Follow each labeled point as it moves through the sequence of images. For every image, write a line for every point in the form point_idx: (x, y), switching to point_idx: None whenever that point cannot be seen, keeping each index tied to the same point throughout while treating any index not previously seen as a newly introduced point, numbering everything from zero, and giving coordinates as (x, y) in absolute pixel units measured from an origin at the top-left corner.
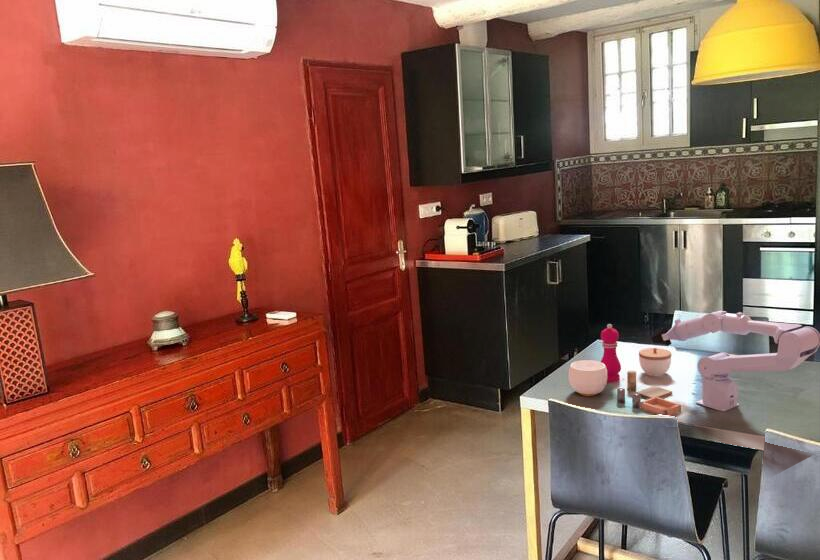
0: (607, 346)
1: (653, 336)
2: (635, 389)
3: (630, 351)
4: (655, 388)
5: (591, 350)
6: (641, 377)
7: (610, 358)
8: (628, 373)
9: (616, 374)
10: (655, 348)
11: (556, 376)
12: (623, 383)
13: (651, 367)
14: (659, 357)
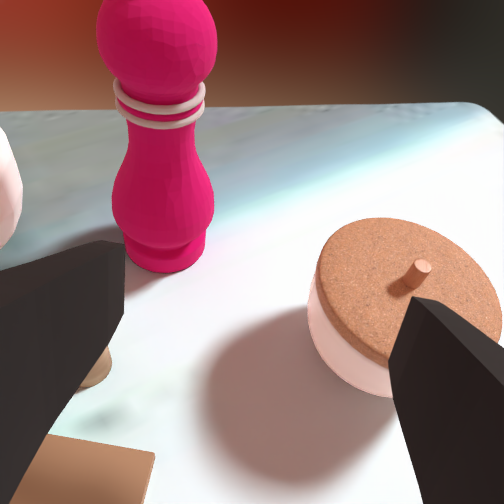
0: (117, 98)
1: (69, 255)
2: (80, 385)
3: (482, 180)
4: (111, 485)
5: (388, 109)
6: (275, 323)
7: (129, 168)
8: None
9: (155, 247)
10: (418, 270)
11: (100, 116)
12: (151, 299)
13: (314, 334)
14: (360, 340)
